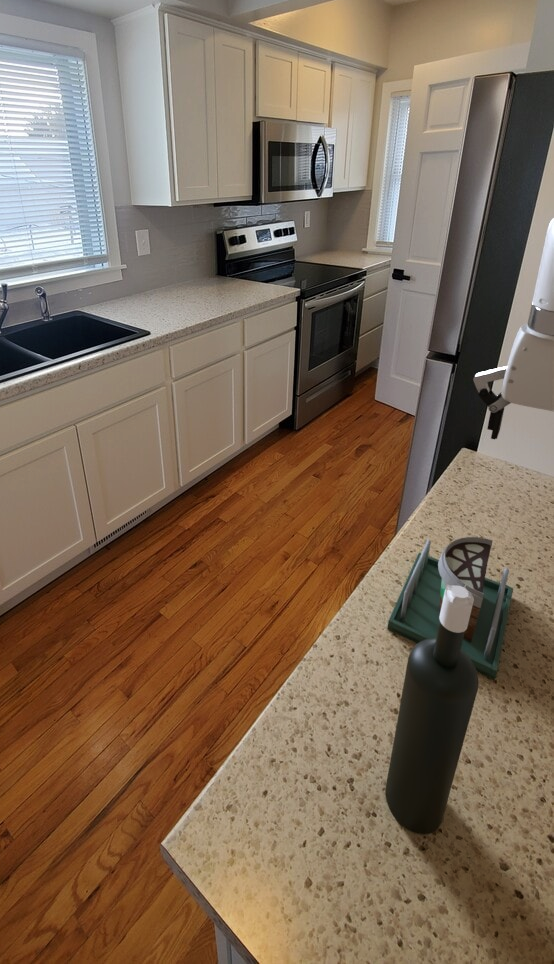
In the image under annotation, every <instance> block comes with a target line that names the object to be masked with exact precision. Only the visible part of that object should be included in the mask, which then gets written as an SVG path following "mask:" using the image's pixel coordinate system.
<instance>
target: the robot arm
mask: <svg viewBox="0 0 554 964" xmlns="http://www.w3.org/2000/svg"><path fill="white" fill-rule="evenodd" d="M545 234H546V235H545V240H544V243H543V249H542V253H541V258H540V263H539V268H538V273H537V277H536V283H535V286H534V291H533V292H534V293H533V297H532V303H531V306H530V310H529V315H528V320H527V322H526V323H522V324H521V325H520V327H519V329H518V331H517V333H516V336H515V337H514V341H513V343H512V347H511V350H510V352H509V353H510V354H509V357H508V361H507V364H506V366H501V367H497V368H493V369H488V370H485V371H480V372H477V373H475V374H474V377H473V378H472V381H473V383H474V386H475V388H476V390H477V392H478V397H479V398H480V399H481V400H482V402H483V403H484V404H485V405H486V407H488V408H487V409H488V411H489V412H490V413H489V418H488V423H487V428H486V429H487V430H489V431H491V435H490V439H491V440H498V436H499V434H500V431H501V428H502V422H503V418H504V411H505V408H506V407H507V406H509V405H511V404H514V405H518V406H521V407H528V408H533V409H539V410H544V411H549V412H554V217H553V218H552V219H551V220H550V222H549V224H548V226H547V230H546V233H545ZM499 380H503V381H502V386H501V392H499V393H497V394H495V392H494V391H493V390H492V389H491V388H490V387H489V383H490V382H495V381H499Z"/></svg>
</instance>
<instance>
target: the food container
mask: <svg viewBox="0 0 554 964" xmlns="http://www.w3.org/2000/svg"><path fill="white" fill-rule="evenodd" d="M493 541H494V540H493V539H489V538H487V537H480V536H479V537H478V536H465V537H461V538H457V539H455V540H453V541H451V542H450V543H449V544H448V545H447V546H446V547H444V549H443V551H442V553H441V554H440V557H439V559H438V560H439V562H438V569H439V573H440V576H441V578H442V581H441V591H440V602H439V612H440V611H441V607H442V602H443V597H444V592H445V589H446V586H447V584H448V585H450V586H456V585H457V586H462V587H464V586H465V585H466V590H468V591H469V592H470V593H471V594H472V596H473V599H474V601H473V606H472V610H471V614H470V618H469V622H468V626H467V629H466V630H465V633H464V637H463V638H464V639H465V640H468V641H470V642H472V638H473V634H474V630H475V626H476V622H477V618H478V615H479V611H480V608H481V604H482V600H483V595H484V593H483V586H484V581H485V578H486V574H487V568H488V563H489V559H490V554H491V550H492V546H493Z"/></svg>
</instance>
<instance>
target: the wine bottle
mask: <svg viewBox="0 0 554 964" xmlns="http://www.w3.org/2000/svg"><path fill="white" fill-rule="evenodd" d="M473 601H474V599H473V596H472V594H471V593H470V592H469V591H468V590H466V585H465V586H464V587H462V586H457V585H456V586H450V585H448V584H447V586H446V589H445V592H444V597H443V602H442V607H441V611H440V616H439V619H440V623H439V628H438V633H437V637H436V638H432V639H426V640H423V641H421V642H419V643H418V644H417V643H415V645H414V646H413V647H412V649H411V650H410V652H409V653H408V654H409V655H408V656H407V657H408V659H407V663H406V667H405V674H404V681H403V685H402V691H401V697H400V703H399V708H398V715H397V720H396V726H395V731H394V738H393V742H392V749H391V755H390V761H389V766H388V771H387V776H386V783H385V790H384V791H385V792H384V793H385V800H386V804H387V806H388V809H389V811H390V812H391V814H392V816H393V817H394V819H395V820H396V821H397V822H398V824H400V826H402V827H403V828H405V829H406V830H408V831H409V832H412V833H415V834H417V835H429V834H432V833H434V832H436V830H438V829H439V828H440V826H441V825H442V822H443V820H444V816H445V811H446V808H447V804H448V801H449V797H450V793H451V789H452V785H453V782H454V780H455V775H456V771H457V767H458V764H459V760H460V757H461V753H462V749H463V746H464V742H465V738H466V735H467V731H468V727H469V724H470V719H471V717H472V713H473V709H474V705H475V701H476V698H477V694H478V691H479V684H480V683H479V682H480V681H479V674H478V672H477V671H476V668H475V666H474V664H473V662H472V660H471V659H470V658H469V656H468V655H467V654H466V653H465V652H464V651H463V650H462V649H461V646H462V642H463V637H464V633H465V630H466V629H467V626H468V622H469V618H470V614H471V610H472V606H473Z"/></svg>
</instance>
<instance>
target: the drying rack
mask: <svg viewBox="0 0 554 964" xmlns="http://www.w3.org/2000/svg"><path fill="white" fill-rule="evenodd" d="M431 543H432V541H431V540H430V539H427V540H426V542H425V544H424V547H423V548H422V551H421V552H418V554H417V556H416V557H415V560H414V562H413V565H412V567H411V569H410V571H409V573H408V576H407V578H406V581H405V583H404V585H403V587H402V589H401V591H400V593H399V595H398V598H397V601H396V603H395V605H394V607H393V609H392V612H391V614H390V615H389V618H388V621H387V627H386V629H387V630H388V631H390V632H392V633H394V634H396V635H398V636H401V637H403V638H405V639H407V640H409V641H410V642H413V643H415V644H418V643H419V642H421V641H423V640H426V639H432V638H436V637H437V633H438V628H439V623H440V619H439V616H440V612H439V602H440V591H441V581H442V578H441V576H440V573H439V569H438V562H439V559H438V558H436V557H432V556H430V555H429V554H430V549H431ZM509 573H510V570H509V568H508V567H505V568H503V572H502V576H501V580H500V582H498V581H496V580H493V579H490V578H488V577H485V581H484V586H483V593H484V595H483V600H482V604H481V608H480V611H479V615H478V618H477V622H476V626H475V630H474V634H473V638H472V642H470V641H468V640H465V639H464V638H463V642H462V646H461V649H462V650H463V651H464V652H465V653H466V654H467V655H468V656H469V658H470V659H471V660H472V662H473V664H474V666H475V668H476V671H477V674H478V673H479V674H480V675H482V676H484V677H486V678H489V679H491V680H493V681H495V680H496V678H497V673H498V670H499V664H500V660H501V655H502V650H503V645H504V640H505V633H506V628H507V624H508V618H509V614H510V609H511V608H510V607H511V604H512V603H511V602H512V598H513V592H514V587H512V586H509V585H507V582H508V577H509Z"/></svg>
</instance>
